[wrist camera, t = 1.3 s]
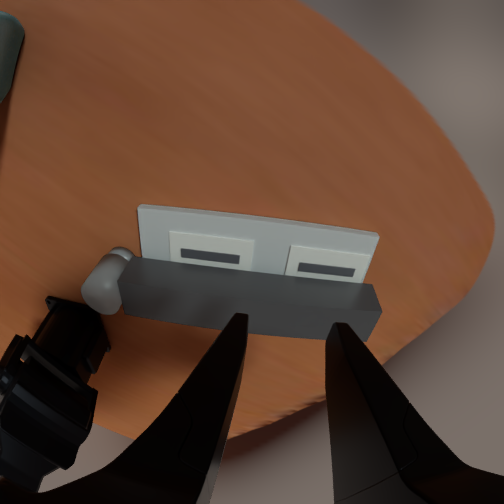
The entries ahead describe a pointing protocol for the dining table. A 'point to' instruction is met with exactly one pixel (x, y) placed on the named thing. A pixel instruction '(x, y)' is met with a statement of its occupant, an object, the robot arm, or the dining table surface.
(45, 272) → the dining table surface
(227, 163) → the dining table surface
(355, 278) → the label board
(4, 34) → the flower pot
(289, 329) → the bar
